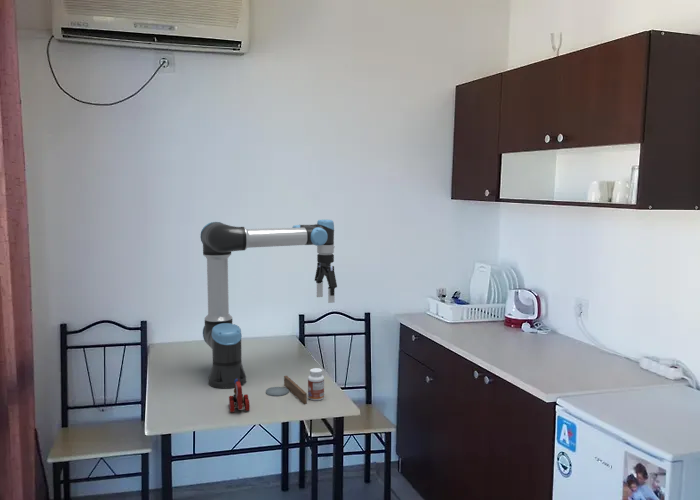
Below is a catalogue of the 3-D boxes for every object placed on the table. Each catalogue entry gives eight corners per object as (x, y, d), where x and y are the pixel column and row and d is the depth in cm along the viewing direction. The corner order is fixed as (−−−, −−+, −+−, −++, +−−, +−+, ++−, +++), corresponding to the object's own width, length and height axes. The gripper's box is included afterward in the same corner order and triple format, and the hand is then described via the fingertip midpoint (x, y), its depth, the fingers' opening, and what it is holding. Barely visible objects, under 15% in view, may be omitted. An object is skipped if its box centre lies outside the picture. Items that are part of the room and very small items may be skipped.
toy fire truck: (247, 401, 231) (247, 374, 229) (250, 413, 219) (249, 385, 217) (228, 403, 229) (228, 376, 228) (230, 415, 217) (229, 387, 216)
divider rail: (303, 404, 228) (303, 393, 228) (284, 385, 248) (284, 376, 247) (306, 403, 229) (306, 393, 228) (286, 385, 248) (286, 375, 248)
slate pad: (269, 397, 235) (269, 396, 234) (262, 390, 243) (262, 388, 243) (292, 394, 238) (292, 392, 238) (284, 386, 246) (284, 385, 246)
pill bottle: (307, 395, 237) (307, 367, 236) (323, 394, 238) (323, 367, 237) (308, 401, 231) (308, 372, 230) (324, 400, 232) (324, 372, 231)
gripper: (344, 256, 268) (344, 304, 271) (322, 250, 291) (322, 294, 293) (328, 257, 265) (328, 305, 268) (307, 250, 288) (307, 295, 290)
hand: (325, 299), depth 281 cm, fingers open, 13 cm apart
